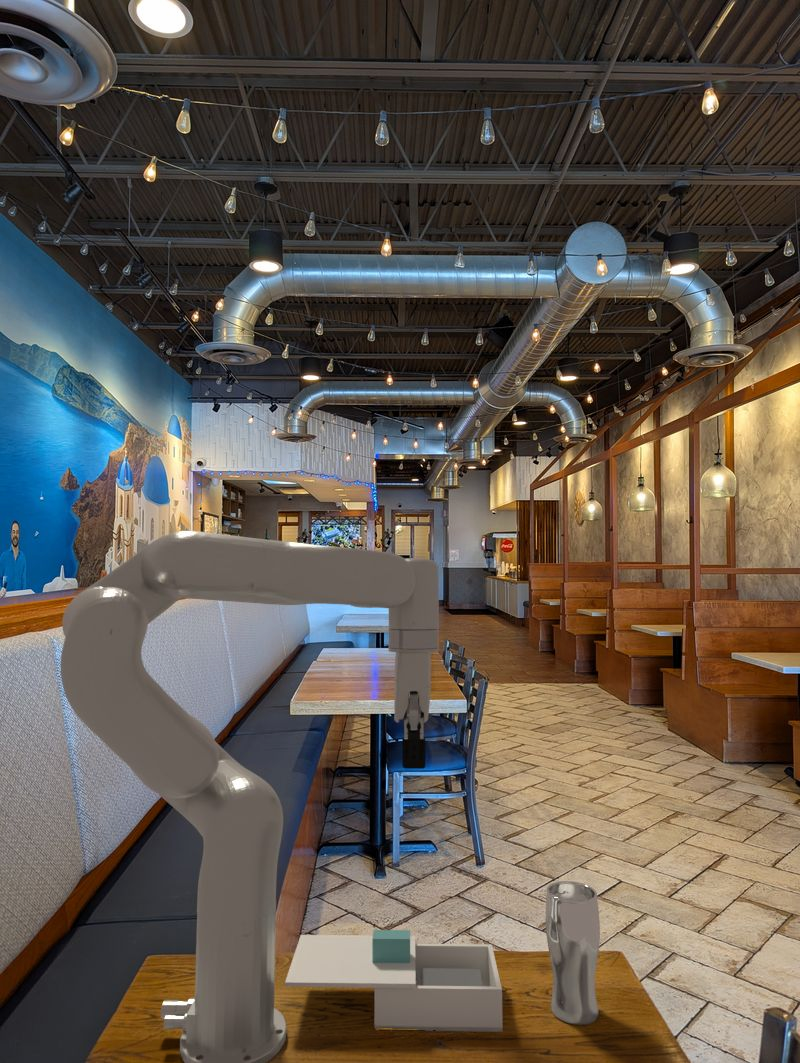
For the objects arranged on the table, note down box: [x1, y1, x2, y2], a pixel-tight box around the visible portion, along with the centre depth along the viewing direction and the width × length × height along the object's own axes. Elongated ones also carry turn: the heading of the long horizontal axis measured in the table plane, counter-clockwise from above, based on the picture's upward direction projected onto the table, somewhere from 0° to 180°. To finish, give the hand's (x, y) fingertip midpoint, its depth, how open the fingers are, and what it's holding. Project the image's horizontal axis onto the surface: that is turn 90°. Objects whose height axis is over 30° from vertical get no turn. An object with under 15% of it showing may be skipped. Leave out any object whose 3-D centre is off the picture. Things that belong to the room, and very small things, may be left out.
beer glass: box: [545, 880, 601, 1026], centre depth 89 cm, size 7×7×15 cm
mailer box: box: [373, 943, 504, 1033], centre depth 90 cm, size 16×11×5 cm
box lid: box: [284, 929, 416, 989], centre depth 90 cm, size 16×12×4 cm
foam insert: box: [421, 968, 483, 986], centre depth 90 cm, size 8×6×2 cm
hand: (413, 759), depth 99 cm, fingers open, 9 cm apart
